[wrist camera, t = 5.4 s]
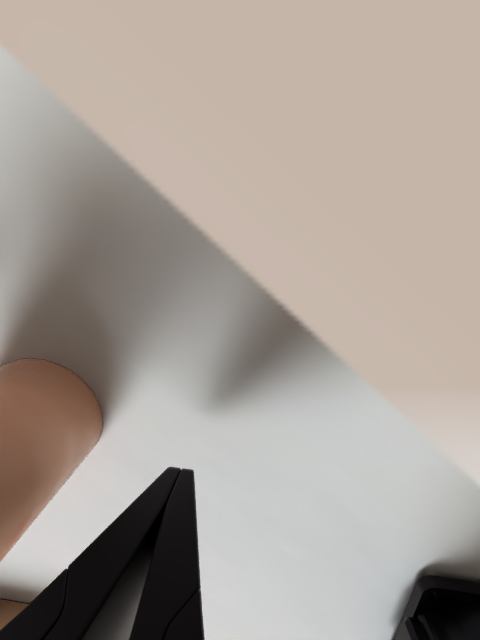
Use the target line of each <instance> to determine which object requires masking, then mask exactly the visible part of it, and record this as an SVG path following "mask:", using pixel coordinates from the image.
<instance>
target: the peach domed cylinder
mask: <svg viewBox="0 0 480 640" xmlns="http://www.w3.org/2000/svg"><path fill="white" fill-rule="evenodd" d="M102 426H103V420H102V413H101V409H100V406H99V404H98V401H97V399H96V397H95V395H94V394H93V393H92V391H91V390H90V388H89V387H88V386H87V385H86V384H85V383H84V382H83V381H82V380H81V379H80V378H79V377H78V376H76V375H75V374H74V373H72V372H71V371H69V370H68V369H66V368H64V367H62V366H60V365H58V364H55V363H52V362H50V361H46V360H41V359H20V360H16V361H13V362H10V363H8V364H6V365H4V366H2V367H0V562H1V561H2V560H3V558H4V557H5V556H6V555H7V553H8V552H9V551H10V550H11V548H12V547H13V546H14V545H15V544H16V542H17V541H18V540H19V539H20V537H21V536H22V535H23V534H24V533H25V531H26V530H27V529H28V528H29V526H30V525H31V524H32V523H33V522H34V520H35V519H36V518H37V517H38V515H39V514H40V513H41V512H42V510H43V509H44V508H45V507H46V506H47V504H48V503H49V502H50V501H51V499H52V498H53V497H54V496H55V495H56V493H57V492H58V491H59V490H60V488H61V487H62V486H63V485H64V484H65V482H66V481H67V480H68V479H69V477H70V476H71V475H72V474H73V472H74V471H75V470H76V469H77V468H78V466H79V465H80V464H81V463H82V461H83V460H84V459H85V458H86V457H87V455H88V454H89V453H90V452H91V450H92V449H93V448H94V447H95V445H96V444H97V442H98V441H99V438H100V436H101V432H102Z"/></svg>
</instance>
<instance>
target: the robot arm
mask: <svg viewBox="0 0 480 640" xmlns="http://www.w3.org/2000/svg"><path fill="white" fill-rule="evenodd" d="M200 588H201V586H200V569H199V551H198V534H197V517H196V499H195V482H194V471H193V470H191V469H182V470H181V469H180V468H176V467H168V468H167V469H166V470H165V471H164V472H163V473H162V474H161V475H160V476H159V477H158V478H157V479H156V480H155V481H154V482H153V483H152V484H151V485H150V486H149V487H148V488H147V489H146V490H145V491H144V492H143V493H142V494H141V495H140V496H139V497H138V498H137V499H136V500H135V501H134V502H133V503H132V504H131V505H130V506H129V507H128V508H127V509H126V510H125V511H124V512H123V513H122V514H121V515H120V516H119V517H118V518H117V519H116V520H115V521H114V522H112V523H111V524H110V525H109V526H108V527H107V528H106V529H105V530H104V531H103V532H102V533H101V534H100V535H99V536H98V537H97V538H96V539H95V540H94V541H93V542H92V543H91V544H90V545H89V546H88V547H87V548H86V549H85V550H84V551H83V552H82V553H81V554H80V555H79V556H78V557H77V558H76V559H75V560H74V561H73V562H72V563H71V564H70V565H69V567H68V569H65V570H64V571H63V572H62V573H61V574H60V575H59V576H58V577H57V578H56V579H55V580H54V581H53V582H52V583H51V584H50V585H49V586H48V587H46V588H45V589H44V590H43V591H42V592H41V593H40V594H39V595H38V596H37V597H36V598H35V599H34V600H33V601H32V602H31V603H30V604H29V605H28V606H27V607H26V608H24V609H23V610H22V611H21V612H20V613H19V614H18V615H17V616H15V617H14V618H13V619H12V620H11V621H10V622H9V623H8V624H6V625H5V626H4V627H3V628H2V629H1V630H0V640H204V628H203V616H202V601H201V591H200ZM394 640H480V583H474V582H467V581H460V580H454V579H447V578H441V577H434V576H425V577H422V578H420V579H419V580H418V581H417V583H416V585H415V588H414V590H413V593H412V595H411V598H410V600H409V603H408V605H407V608H406V610H405V613H404V615H403V618H402V620H401V623H400V625H399V628H398V630H397V633H396V635H395V638H394Z"/></svg>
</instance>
